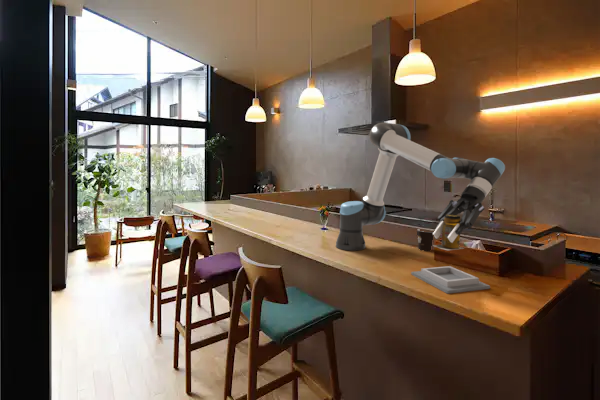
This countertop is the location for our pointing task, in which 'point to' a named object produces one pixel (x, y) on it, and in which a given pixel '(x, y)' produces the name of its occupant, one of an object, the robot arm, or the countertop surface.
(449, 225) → the condiment
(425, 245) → the coffee mug
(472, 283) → the tray
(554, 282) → the countertop surface
